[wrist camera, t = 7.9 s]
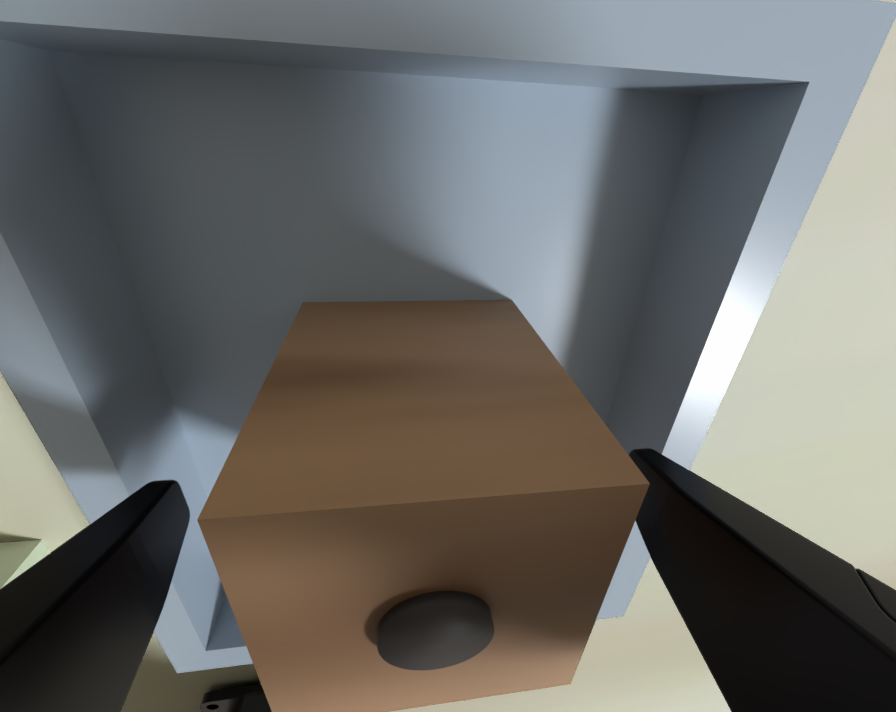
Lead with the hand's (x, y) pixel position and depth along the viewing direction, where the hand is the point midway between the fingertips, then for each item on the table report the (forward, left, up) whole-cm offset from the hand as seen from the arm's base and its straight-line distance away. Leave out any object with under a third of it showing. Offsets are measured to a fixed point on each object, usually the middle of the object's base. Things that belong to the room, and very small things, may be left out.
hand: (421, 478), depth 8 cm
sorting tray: (0, 0, -4) cm, 4 cm away
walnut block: (0, 0, -3) cm, 3 cm away
